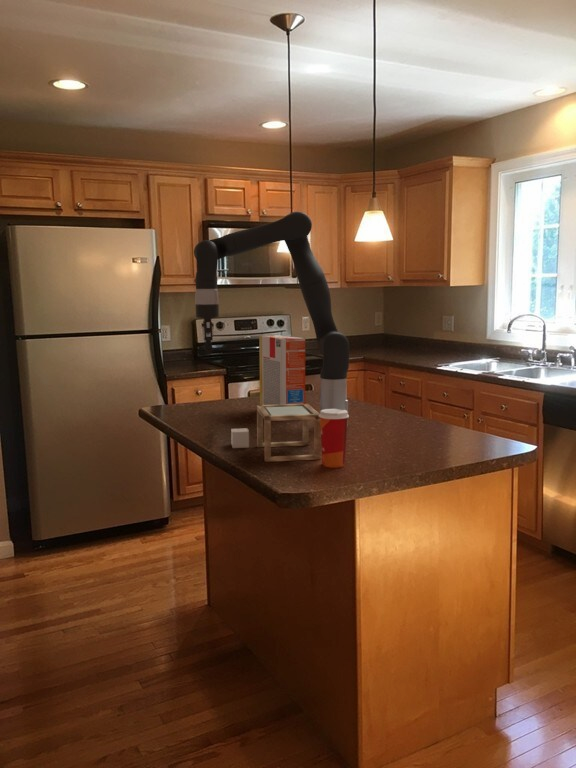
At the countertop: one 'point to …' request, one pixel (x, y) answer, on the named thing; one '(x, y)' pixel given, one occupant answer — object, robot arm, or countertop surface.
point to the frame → (268, 444)
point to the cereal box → (282, 370)
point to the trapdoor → (286, 410)
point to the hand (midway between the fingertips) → (208, 352)
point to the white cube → (240, 438)
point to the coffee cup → (333, 437)
